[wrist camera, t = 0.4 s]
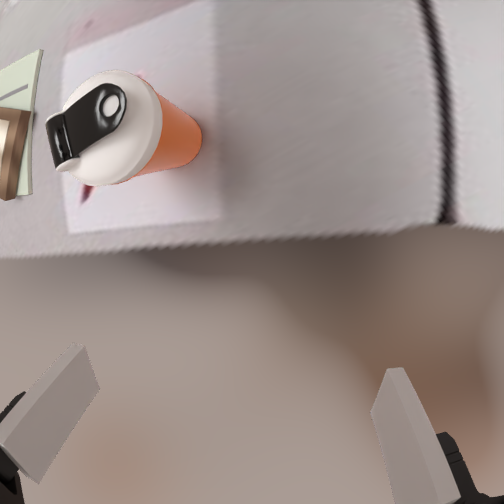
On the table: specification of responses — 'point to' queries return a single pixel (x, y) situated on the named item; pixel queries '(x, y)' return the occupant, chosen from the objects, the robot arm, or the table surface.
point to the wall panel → (22, 106)
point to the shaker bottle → (120, 131)
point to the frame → (11, 148)
